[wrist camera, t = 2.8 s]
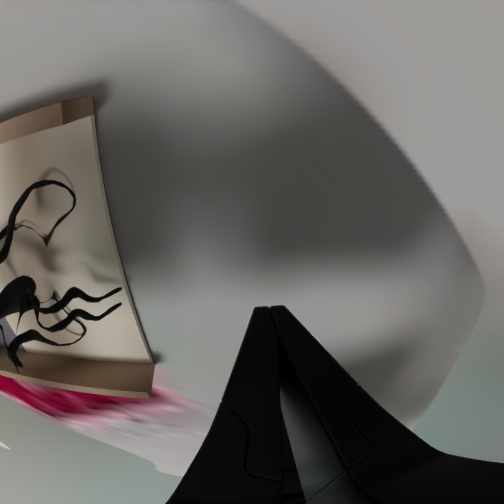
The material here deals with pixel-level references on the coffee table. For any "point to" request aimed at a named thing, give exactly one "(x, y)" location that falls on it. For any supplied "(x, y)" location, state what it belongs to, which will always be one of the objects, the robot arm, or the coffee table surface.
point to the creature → (23, 288)
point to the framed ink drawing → (67, 257)
